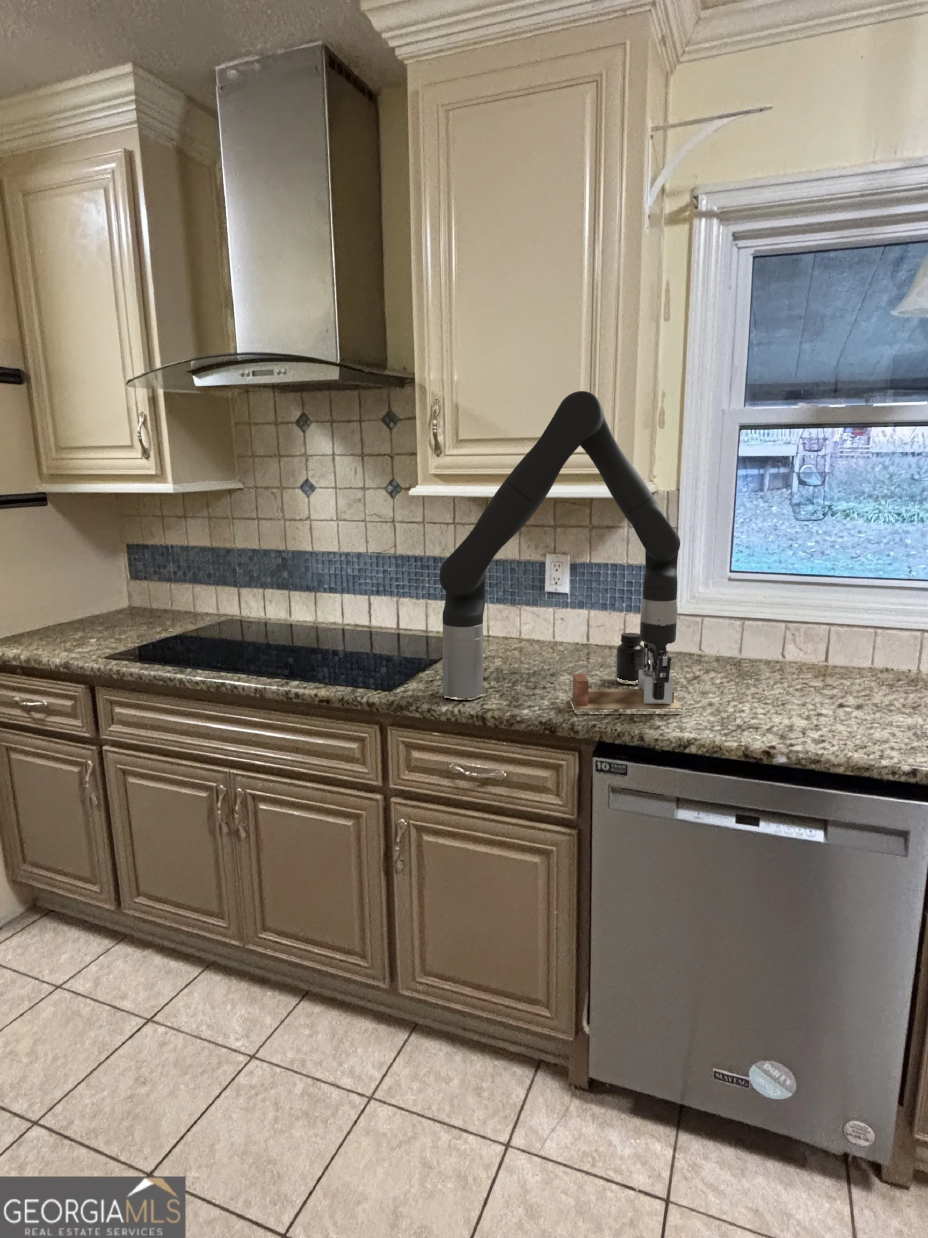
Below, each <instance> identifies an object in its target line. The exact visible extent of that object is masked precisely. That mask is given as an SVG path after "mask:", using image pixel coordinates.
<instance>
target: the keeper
mask: <svg viewBox="0 0 928 1238" xmlns="http://www.w3.org/2000/svg"><path fill="white" fill-rule="evenodd" d="M660 677H663V676H662V673H660ZM653 679H654V678H653V673H652V672H651V670H646V669H645V670H639V680H638V685H637V689H642V690H643V695H642V702H643V703H644V704H672V690H673V689H674V688H673V687H674V685H673V682H674V676H673V675H672V674H671V673H670V674H669V682H668V683H665V689H664V699H663V700H655V699H654V698H653V686H654V681H653Z"/></svg>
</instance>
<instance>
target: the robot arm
mask: <svg viewBox="0 0 928 1238" xmlns="http://www.w3.org/2000/svg"><path fill="white" fill-rule="evenodd" d="M579 447H581V448H582V449H583V451H584V452H585V453H586V454H587V456H588V457H589V459H591V462H593V465H594V466H595V468H596V469H597V471H598V472H599V474H600V476H601V478H602V480H603V482H604V484H605V486H606V487H607V490H608V491H609V493H610V495H611V497H612V498H613V500H614V502H615V503H616V504H617V506H618V507H619V509H620V511H621V513H622V514H623V515H624V517H625V518H626V519H627V521H628V522H629V523H630V525H631V526H632V528H633V530H634V532H635V534H636V536H637V538H638V539H639V540H640V543H641V545H642V546H643V548H644V550H645V552H644V553H645V554H644V555H645V557H644V559H645V560H644V562H645V567H644V568H645V569H644V571H645V572H644V577H643V585H642V601H641V602H642V603H641V607H640V624H639V627H640V628H639V634H640V640H641V642H643V647H644V669H645V670H651V672H652V673H653V678H654V679H653V681H654V686H653V698H654V699H655V700H663V699H664V689H665V683H668V682H669V674H671V663H672V658H671V657H672V656H670V655H669V651H668V650H667V646H668V645H669V644H673V643H675V642H676V639H677V624H678V622H677V620H678V603H677V599H678V575H677V569H678V560H679V557H678V556H679V551H680V548H681V539H680V536H679V533H678V531H676V529H675V528H674V527H673V526H672V524H671V523H670V521H669V520H668V518H667V517H666V516H665V515H664V513H663V511H661V509H660V507H659V504H658V502H657V499H656V498H655V496H654V495H653V493H652V492H651V490H650V489H649V487H648V486H647V484H646V482H645V481H644V479H643V478H642V476H641V475H640V474H639V472H638V471H637V469H636V468H635V466H633V464H632V463H631V462H630V460H629V459H628V458H627V456H626V455H625V453H624V452H623V451H622V449H621V448H620V446H619V444H618V443H617V441H616V439H615V437H614V435H613V433H612V431H611V429H610V426H609V424H608V422H607V420H606V417H605V413H604V408H603V405H602V403H601V401H600V400H599V398H598V397H597V396H596V395H595V394H593V393H591V392H589V391H586V390H581V391H580V390H579V391H578V390H577V391H574V392H572V393H570V394H568V395H567V396H566V397H564V399H562V401H561V402H560V404H559V405H558V407H557V410H556V411H555V413H554V414H553V416H552V417H551V419H550V421H549V423H548V425H547V427H546V428H545V429H544V430H543V433H542V434H541V435H540V437H539V439H538V440H537V442H535V444H534V445H533V447H531V448H530V450H529V451H528V452H527V453H526V454H525V456H523V457H522V459H520V461H519V462H518V463H517V465H516V466H515V467H514V468H513V470H511V472H510V473H509V474H508V476H507V477H505V478H506V479H505V480H504V481H503V482H502V484H501V485H499V486H500V487H498V489H497V490H496V492H495V493H494V495H493V497H492V498H491V499H490V500H489V503H488V504H487V506H486V507H485V509H484V510H483V511H482V513H481V515H480V516H479V518H478V520H477V522H476V524H475V525H474V527H473V528H472V530H471V531H470V532H469V534H468V535H467V536H466V537H465V539H464V540H462V542H461V543H460V544H459V545H458V546H457V547H456V548H455V550H453V552H452V553H451V554H449V556H448V557H447V558H446V559H445V560H444V561H443V563H442V564H441V566H440V569H439V574H438V577H439V578H438V579H439V583H440V586H441V588H442V589H443V590H444V592H445V599H444V601H445V602H444V607H443V611H442V697H443V696H450V697H457V698H469V697H475V696H478V695H481V694H482V693H483V694H484V613H485V607H486V570H487V569H488V567H489V566H490V563H492V561H493V560H494V558H495V556H497V554H498V553H499V551H500V550H501V549H502V548H503V547H504V546H505V545H506V544H507V543H508V542H509V541H510V540H511V539H512V538H514V537H515V536H516V535H517V534H518V532H519V531H520V530H521V529H522V528H523V527H524V526H525V525H526V523H527V522H529V520H530V519H531V518H532V516H533V515H534V514H535V512H536V511H537V510H538V509H539V507H540V506H541V505H542V503H543V502H544V500H545V499H546V497H547V496H548V494H549V492H550V491H551V489H552V487H553V485H554V484H555V482H556V480H557V478H558V476H559V474H560V473H561V470H562V469H563V468H564V465H566V463H567V461H568V460H569V458H570V457H571V456H572V455H573V454H574V453H575V451H576V450H578V448H579ZM660 673H662V676H663V677H660Z"/></svg>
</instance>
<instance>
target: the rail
mask: <svg viewBox="0 0 928 1238" xmlns="http://www.w3.org/2000/svg"><path fill="white" fill-rule="evenodd" d="M589 682H590V681H589V679H588V677H587V674H585V673H573V674H572V694H570V695H569V694H568V695H569V696H568V697H570V700H571V702H572V704H573V706H574V709H575V710H595V709H596V710H615V709H616V710H617V709H618V710H619V709H623V710H624V709H669V710H670V709H676V710H677V709H681V710H683V711H684V707H683V706H682V705H681V704H680V703H679V702H678V700H677V699H676V698H675V691H674V689H672V704H644V703H643V702H642V695H643V690H642V689H638V688H628V689H627V688H602V689H601V688H589V686H590V685H589V684H590V683H589Z"/></svg>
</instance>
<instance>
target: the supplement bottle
mask: <svg viewBox="0 0 928 1238" xmlns="http://www.w3.org/2000/svg"><path fill="white" fill-rule="evenodd" d="M620 636H621V637H620V642H621V643H620V644H619V645H618V646H617V647H616V658H615V659H616V660H615V661H616V663H615V665H616V667H615V669H616V670H615V678H616V677H617V678H619V679H622V680H628V681H636V680H639V670H646V669H644V645H642V644H641V643H642V641H641V640H640V633H637V632H624V633H623V632H622V633H621V634H620Z"/></svg>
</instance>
